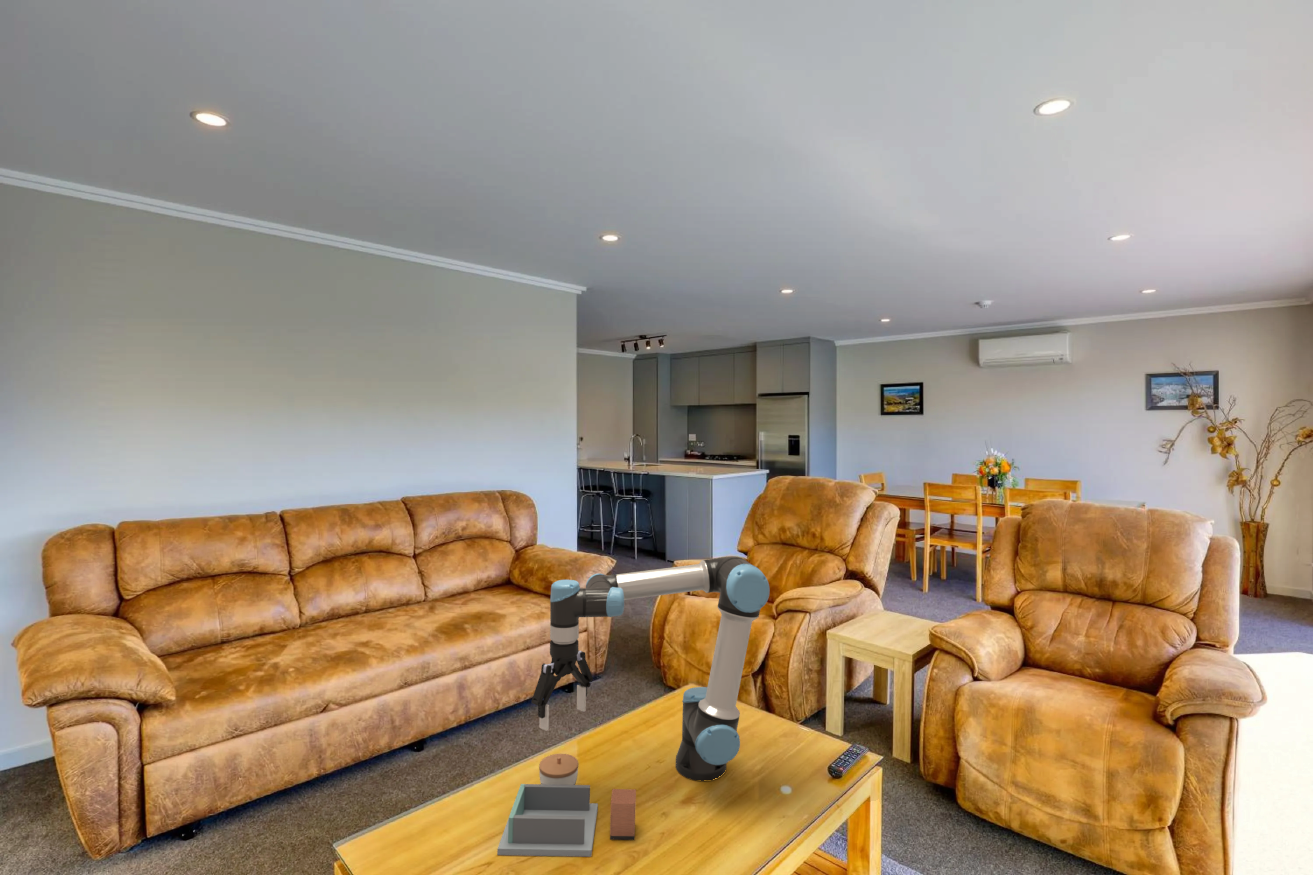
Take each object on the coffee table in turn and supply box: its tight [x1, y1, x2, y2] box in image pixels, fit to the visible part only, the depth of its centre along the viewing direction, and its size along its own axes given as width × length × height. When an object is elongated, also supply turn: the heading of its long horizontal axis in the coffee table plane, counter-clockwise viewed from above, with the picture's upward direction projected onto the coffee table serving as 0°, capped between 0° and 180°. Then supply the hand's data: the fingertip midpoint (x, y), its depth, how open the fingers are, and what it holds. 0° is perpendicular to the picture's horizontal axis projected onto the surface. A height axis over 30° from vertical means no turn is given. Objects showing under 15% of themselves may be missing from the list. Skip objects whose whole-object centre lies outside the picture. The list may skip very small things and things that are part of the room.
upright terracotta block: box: [609, 788, 637, 841], centre depth 153 cm, size 6×6×9 cm
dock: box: [496, 783, 599, 858], centre depth 152 cm, size 22×18×8 cm
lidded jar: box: [538, 753, 579, 785], centre depth 169 cm, size 11×11×9 cm
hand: (563, 719), depth 163 cm, fingers open, 13 cm apart
